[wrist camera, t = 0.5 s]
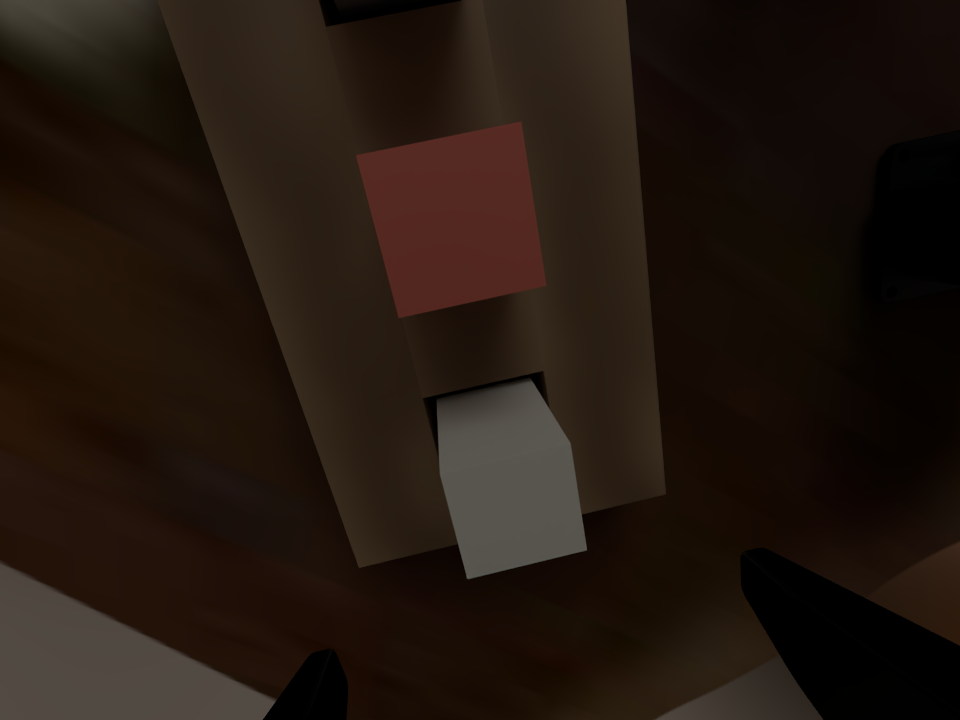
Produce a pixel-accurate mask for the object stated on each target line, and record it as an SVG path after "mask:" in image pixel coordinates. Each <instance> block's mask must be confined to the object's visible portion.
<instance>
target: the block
mask: <svg viewBox="0 0 960 720" xmlns="http://www.w3.org/2000/svg"><path fill="white" fill-rule="evenodd" d="M157 1H158V4H159V7H160V10H161V12H162V15H163V18H164V21H165V24H166V26H167V29H168V32H169V35H170V38H171V41H172V43H173V46H174V49H175V52H176V55H177V57H178V60H179V63H180V66H181V69H182V71H183V74H184V77H185V80H186V83H187V86H188V88H189V91H190V94H191V97H192V100H193V102H194V105H195V108H196V111H197V114H198V116H199V119H200V122H201V125H202V128H203V131H204V133H205V136H206V139H207V142H208V145H209V147H210V150H211V153H212V156H213V159H214V161H215V164H216V167H217V170H218V173H219V176H220V178H221V181H222V184H223V187H224V190H225V192H226V195H227V198H228V201H229V204H230V206H231V209H232V212H233V215H234V218H235V220H236V223H237V226H238V229H239V232H240V235H241V237H242V240H243V243H244V246H245V249H246V251H247V254H248V257H249V260H250V263H251V265H252V268H253V271H254V274H255V277H256V280H257V282H258V285H259V288H260V291H261V294H262V296H263V299H264V302H265V305H266V308H267V310H268V313H269V316H270V319H271V322H272V325H273V327H274V330H275V333H276V336H277V339H278V341H279V344H280V347H281V350H282V353H283V355H284V358H285V361H286V364H287V367H288V370H289V372H290V375H291V378H292V381H293V384H294V386H295V389H296V392H297V395H298V398H299V400H300V403H301V406H302V409H303V412H304V415H305V417H306V420H307V423H308V426H309V429H310V431H311V434H312V437H313V440H314V443H315V445H316V448H317V451H318V454H319V457H320V459H321V462H322V465H323V468H324V471H325V474H326V476H327V479H328V482H329V485H330V488H331V490H332V493H333V496H334V499H335V502H336V504H337V507H338V510H339V513H340V516H341V519H342V521H343V524H344V527H345V530H346V533H347V535H348V538H349V541H350V544H351V547H352V549H353V552H354V555H355V558H356V561H357V564H358V566H359V568H360V567H365V566H369V565H373V564H377V563H381V562H385V561H390V560H394V559H398V558H402V557H406V556H410V555H415V554H419V553H423V552H427V551H431V550H435V549H440V548H444V547H448V546H452V545H456V544H458V541H457V538H456V534H455V530H454V526H453V522H452V519H451V515H450V511H449V507H448V503H447V500H446V496H445V492H444V488H443V484H442V481H441V477H440V467H439V443H438V420H437V412H436V408H435V404H434V400H433V396H435V395H439V394H443V393H448V392H452V391H457V390H461V389H465V388H470V387H474V386H479V385H483V384H488V383H492V382H496V381H501V380H505V379H510V378H514V377H518V376H523V375H528V377H530V378H531V380H532V382H533V383H534V385H535V386H536V388H537V390H538V391H539V393H540V395H541V396H542V398H543V399H544V401H545V403H546V404H547V406H548V408H549V409H550V411H551V412H552V414H553V416H554V417H555V419H556V421H557V422H558V424H559V425H560V427H561V429H562V430H563V432H564V434H565V435H566V437H567V438H568V440H569V442H570V443H571V449H572V456H573V462H574V469H575V475H576V482H577V488H578V495H579V501H580V508H581V514H585V513H590V512H594V511H598V510H602V509H606V508H610V507H615V506H619V505H623V504H627V503H631V502H635V501H640V500H644V499H648V498H652V497H656V496H661V495H665V494H666V490H665V478H664V466H663V453H662V441H661V429H660V416H659V404H658V392H657V379H656V367H655V355H654V342H653V330H652V318H651V305H650V293H649V281H648V268H647V256H646V244H645V231H644V219H643V207H642V195H641V182H640V170H639V158H638V145H637V133H636V121H635V108H634V96H633V84H632V71H631V59H630V47H629V34H628V22H627V10H626V0H461V1H457V2H452V3H447V4H441V5H436V6H431V7H426V8H421V9H416V10H410V11H405V12H400V13H395V14H390V15H385V16H379V17H374V18H369V19H364V20H359V21H353V22H348V23H343V24H338V21H337V17H336V13H335V9H334V5H333V1H332V0H157ZM516 122H521V123H522V129H523V136H524V142H525V149H526V155H527V162H528V168H529V175H530V181H531V188H532V195H533V201H534V208H535V214H536V221H537V227H538V234H539V240H540V247H541V253H542V260H543V266H544V273H545V279H546V286H543V287H538V288H534V289H529V290H525V291H520V292H516V293H511V294H507V295H502V296H497V297H493V298H488V299H484V300H479V301H475V302H470V303H466V304H461V305H456V306H452V307H447V308H443V309H438V310H434V311H429V312H425V313H420V314H415V315H411V316H406V317H402V318H399V317H398V313H397V310H396V306H395V302H394V298H393V294H392V291H391V287H390V283H389V279H388V275H387V272H386V268H385V264H384V260H383V256H382V253H381V249H380V245H379V241H378V237H377V234H376V230H375V226H374V222H373V218H372V215H371V211H370V207H369V203H368V199H367V196H366V192H365V188H364V184H363V180H362V177H361V173H360V169H359V165H358V161H357V158H356V155H360V154H365V153H370V152H375V151H379V150H384V149H389V148H394V147H399V146H404V145H409V144H414V143H418V142H423V141H428V140H433V139H438V138H443V137H448V136H453V135H458V134H462V133H467V132H472V131H477V130H482V129H487V128H492V127H497V126H501V125H506V124H511V123H516Z"/></svg>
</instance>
